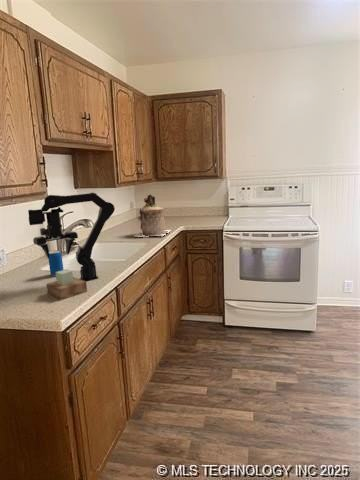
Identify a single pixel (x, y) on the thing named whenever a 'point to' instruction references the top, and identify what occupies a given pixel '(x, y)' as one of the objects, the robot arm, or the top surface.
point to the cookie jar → (151, 219)
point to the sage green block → (64, 277)
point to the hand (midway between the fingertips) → (58, 256)
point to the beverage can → (55, 262)
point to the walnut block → (67, 289)
